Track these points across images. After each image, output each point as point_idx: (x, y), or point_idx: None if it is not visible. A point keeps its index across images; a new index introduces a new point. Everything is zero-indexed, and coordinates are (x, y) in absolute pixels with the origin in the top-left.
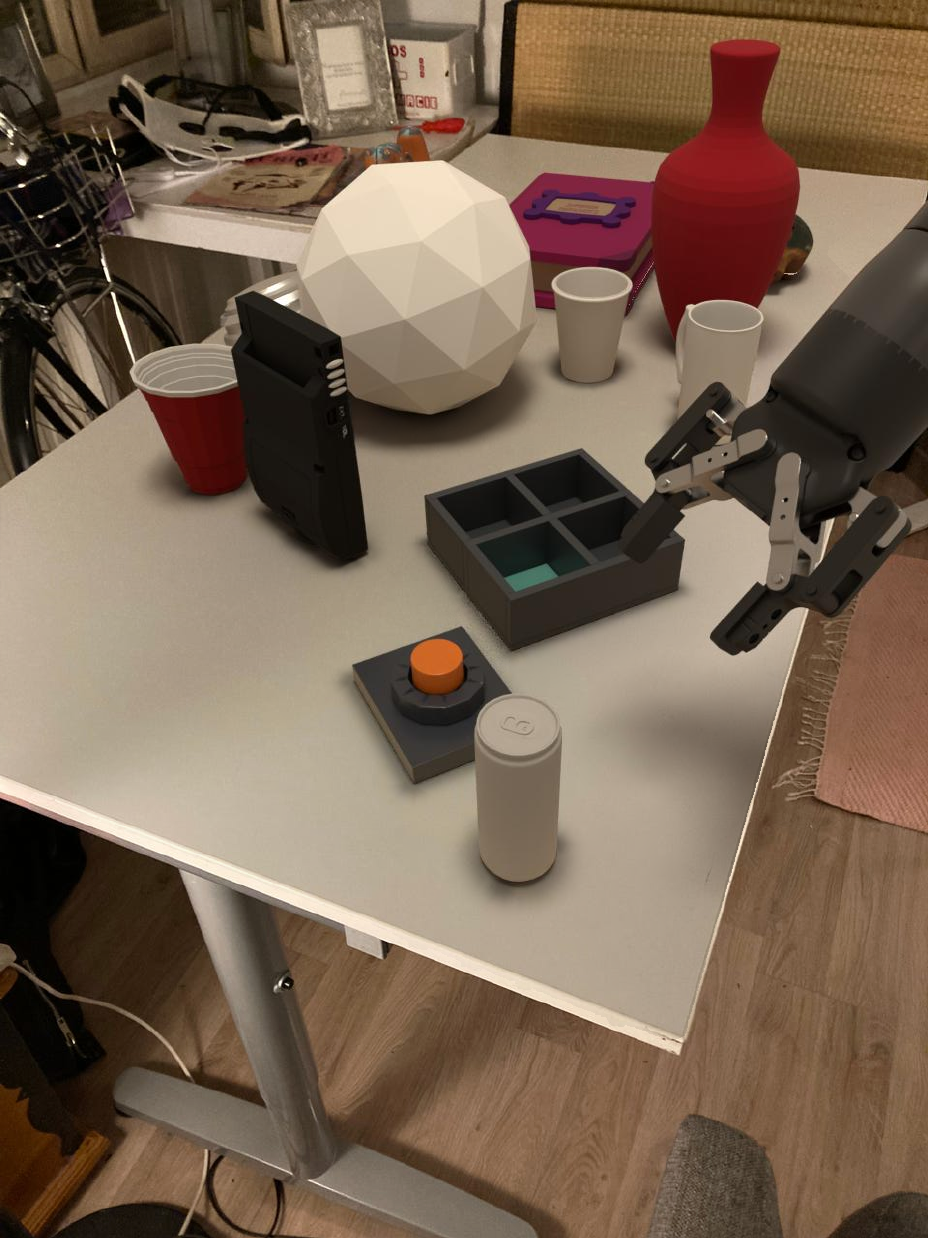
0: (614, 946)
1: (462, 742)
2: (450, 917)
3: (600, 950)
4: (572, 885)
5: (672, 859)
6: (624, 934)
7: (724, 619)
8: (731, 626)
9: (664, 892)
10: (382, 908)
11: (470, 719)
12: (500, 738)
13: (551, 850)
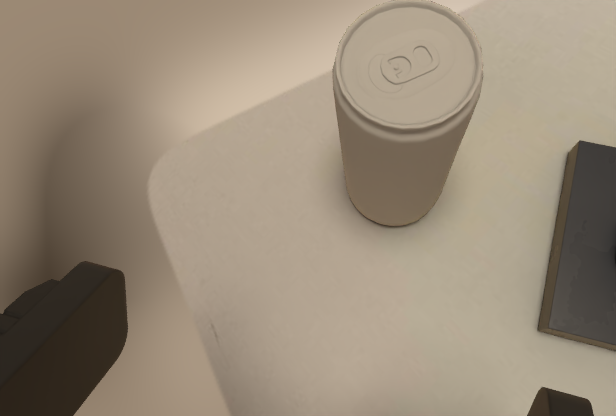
0: (233, 183)
1: (576, 219)
2: None
3: (241, 169)
4: (318, 202)
5: (259, 319)
6: (235, 201)
7: (80, 296)
8: (54, 291)
9: (237, 275)
10: None
11: (609, 257)
12: (403, 23)
13: (346, 181)
